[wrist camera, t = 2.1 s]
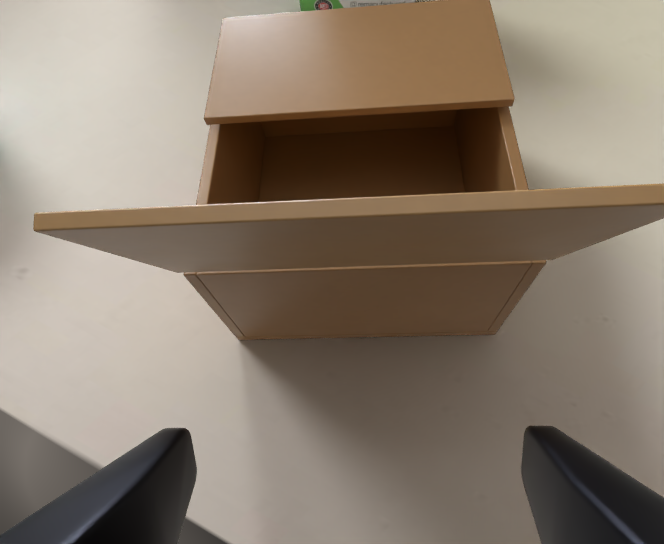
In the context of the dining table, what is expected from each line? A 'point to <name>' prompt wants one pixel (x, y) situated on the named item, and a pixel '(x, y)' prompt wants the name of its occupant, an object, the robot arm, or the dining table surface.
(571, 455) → the robot arm
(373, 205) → the flap
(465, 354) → the dining table surface
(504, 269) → the carton
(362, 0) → the ink box
